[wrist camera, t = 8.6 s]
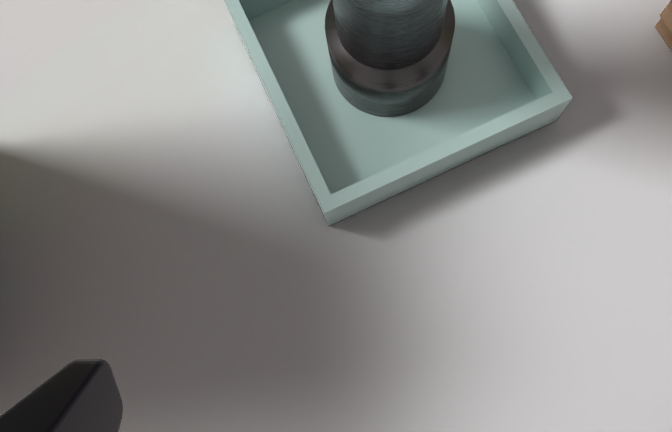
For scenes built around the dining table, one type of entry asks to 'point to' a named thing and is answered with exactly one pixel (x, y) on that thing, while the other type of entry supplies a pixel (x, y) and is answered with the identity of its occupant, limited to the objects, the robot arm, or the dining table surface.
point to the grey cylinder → (389, 52)
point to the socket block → (666, 25)
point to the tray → (407, 130)
